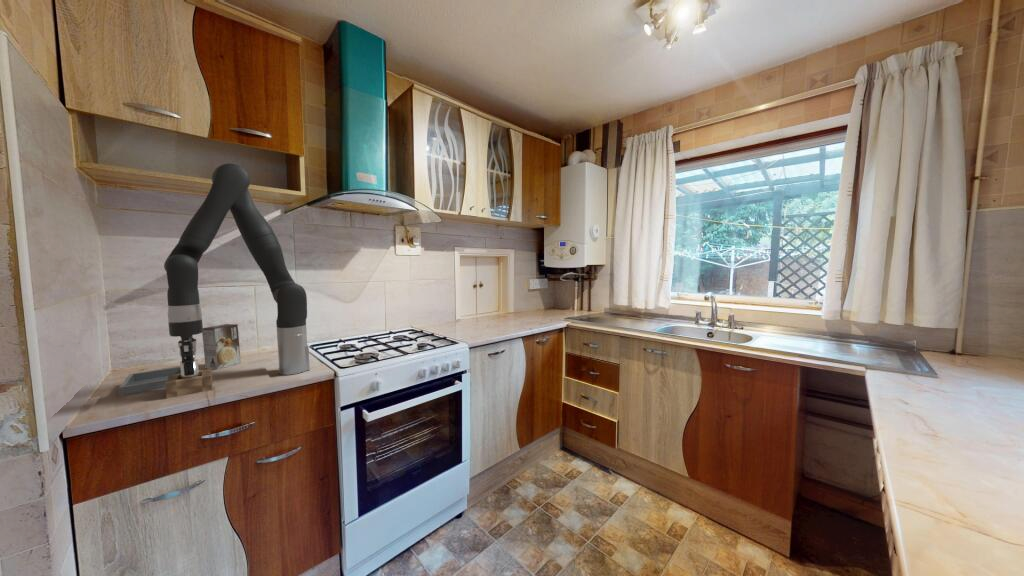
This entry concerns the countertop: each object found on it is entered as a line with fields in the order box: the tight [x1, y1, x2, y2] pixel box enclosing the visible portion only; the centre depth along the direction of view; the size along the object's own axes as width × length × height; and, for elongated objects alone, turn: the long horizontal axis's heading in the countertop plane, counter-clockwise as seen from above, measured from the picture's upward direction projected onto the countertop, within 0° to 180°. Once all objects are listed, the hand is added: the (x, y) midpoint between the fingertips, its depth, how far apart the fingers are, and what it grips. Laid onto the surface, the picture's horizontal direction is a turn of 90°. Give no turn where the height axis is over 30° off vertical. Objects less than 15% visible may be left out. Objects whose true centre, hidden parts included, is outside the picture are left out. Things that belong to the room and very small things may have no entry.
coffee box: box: [201, 323, 242, 370], centre depth 133 cm, size 9×6×16 cm
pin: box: [179, 359, 200, 379], centre depth 106 cm, size 4×4×9 cm
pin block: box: [165, 368, 214, 399], centre depth 106 cm, size 10×10×6 cm
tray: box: [118, 366, 181, 397], centre depth 112 cm, size 14×17×4 cm
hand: (190, 373), depth 106 cm, fingers closed on pin, 4 cm apart
